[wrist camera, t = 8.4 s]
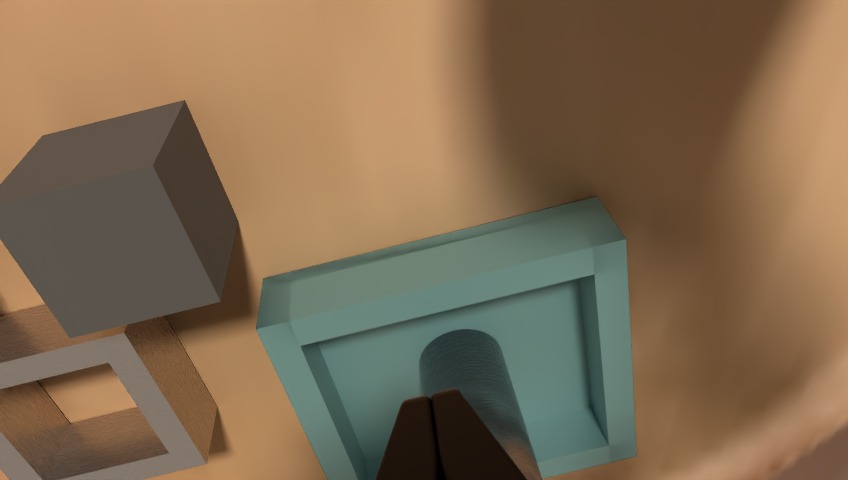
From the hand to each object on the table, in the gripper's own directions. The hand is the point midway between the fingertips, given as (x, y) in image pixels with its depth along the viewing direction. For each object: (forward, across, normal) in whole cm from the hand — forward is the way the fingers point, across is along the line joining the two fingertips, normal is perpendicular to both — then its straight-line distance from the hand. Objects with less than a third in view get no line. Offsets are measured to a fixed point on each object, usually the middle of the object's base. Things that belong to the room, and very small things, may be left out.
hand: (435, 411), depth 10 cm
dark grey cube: (+11, +7, 0) cm, 13 cm away
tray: (+11, 0, +9) cm, 14 cm away
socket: (+11, +12, +6) cm, 17 cm away
